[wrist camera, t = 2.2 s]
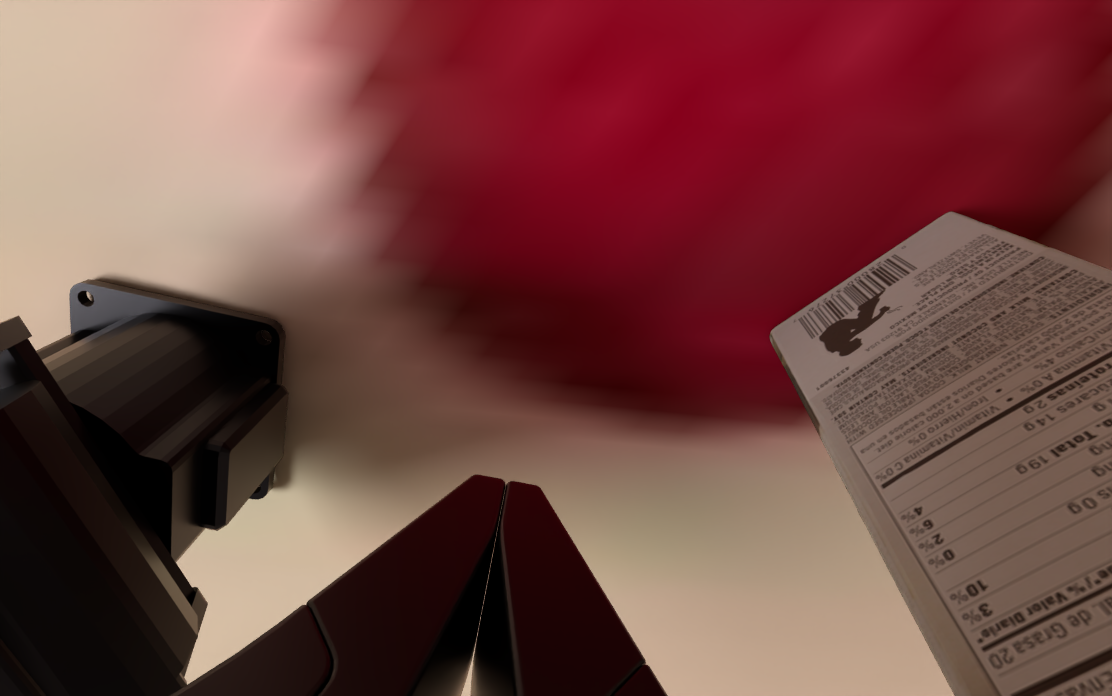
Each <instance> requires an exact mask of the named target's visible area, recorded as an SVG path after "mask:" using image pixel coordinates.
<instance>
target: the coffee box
mask: <svg viewBox="0 0 1112 696" xmlns="http://www.w3.org/2000/svg"><path fill="white" fill-rule="evenodd" d="M770 341H771V344H772V346H773V347H774V349H775V351H776V353H777V355H778V357H779V359H780V361H781V362H782V364H783V366H784V368H785V370H786V372H787V374H788V376H789V377H790V379H791V381H792V383H793V385H794V387H795V389H796V391H797V393H798V395H799V397H800V399H801V401H802V403H803V405H804V407H805V409H806V411H807V412H808V414H809V416H810V418H811V420H812V422H813V424H814V426H815V428H816V430H817V432H818V434H819V436H820V438H821V440H822V442H823V444H824V446H825V448H826V450H827V452H828V454H829V456H830V458H831V460H832V462H833V464H834V465H835V467H836V469H837V471H838V473H839V475H840V477H841V479H842V481H843V483H844V484H845V486H846V488H847V490H848V492H849V494H850V496H851V498H852V500H853V502H854V504H855V506H856V508H857V510H858V512H859V514H860V516H861V518H862V520H863V521H864V523H865V525H866V527H867V529H868V531H869V533H870V535H871V537H872V539H873V540H874V542H875V544H876V546H877V548H878V550H879V552H880V554H881V556H882V558H883V560H884V562H885V564H886V566H887V568H888V570H889V571H890V573H891V575H892V577H893V579H894V581H895V583H896V585H897V587H898V589H899V591H900V593H901V595H902V597H903V598H904V600H905V602H906V604H907V606H908V608H909V610H910V612H911V614H912V615H913V617H914V619H915V621H916V623H917V625H918V627H919V629H920V631H921V632H922V634H923V636H924V638H925V640H926V642H927V644H928V646H929V648H930V649H931V651H932V653H933V655H934V657H935V659H936V661H937V663H938V665H939V667H940V668H941V670H942V672H943V674H944V676H945V678H946V680H947V682H948V684H949V686H950V688H951V689H952V691H953V693H954V695H955V696H1112V270H1109V269H1107V268H1104V267H1101V266H1099V265H1096V264H1093V263H1091V262H1088V261H1085V260H1083V259H1080V258H1077V257H1075V256H1072V255H1069V254H1066V253H1064V252H1061V251H1059V250H1057V249H1054V248H1050V247H1047V246H1045V245H1043V244H1039V243H1037V242H1035V241H1032V240H1029V239H1026V238H1024V237H1020V236H1018V235H1015V234H1012V233H1009V232H1008V231H1005V230H1002V229H999V228H997V227H994V226H992V225H988V224H984V223H982V222H979V221H977V220H974V219H971V218H969V217H966V216H964V215H961V214H958V213H955V212H948V213H946V214H944V215H942V216H941V217H939V218H938V219H936V220H935V221H933V222H932V223H930V224H929V225H927V226H926V227H924V228H923V229H921V230H920V231H918V232H917V233H915V234H914V235H912V236H911V237H909V238H908V239H906V240H905V241H903V242H902V243H900V244H899V245H897V246H896V247H894V248H893V249H891V250H890V251H888V252H887V253H885V254H884V255H882V256H881V257H879V258H878V259H876V260H875V261H873V262H872V263H870V264H869V265H867V266H866V267H864V268H863V269H861V270H860V271H858V272H857V273H855V274H854V275H852V276H851V277H849V278H848V279H846V280H845V281H843V282H842V283H840V284H839V285H837V286H836V287H834V288H833V289H831V290H830V291H828V292H827V293H826V294H824V295H823V296H821V297H820V298H818V299H817V300H815V301H814V302H812V303H811V304H809V305H808V306H806V307H805V308H803V309H802V310H800V311H799V312H797V313H796V314H794V315H793V316H791V317H790V318H788V319H787V320H785V321H784V322H782V323H781V324H779V325H778V326H776V327H775V328H774V329H773V330H772V331H771V333H770Z"/></svg>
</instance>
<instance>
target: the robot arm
mask: <svg viewBox="0 0 1112 696" xmlns="http://www.w3.org/2000/svg"><path fill="white" fill-rule="evenodd" d="M86 292H89V293H91V295H92V296H93V298H94V302H92V301H90V300H89V298H88V297H87V294H86ZM70 320H71V334H70V335H68V336H66V337H64V338H62V339H60V340H58V341H56V342H54V343H52V344H49V345H47V346H45V347H43V348H41V349H39V350H37V351H36V350H35V349H34V347H33V346H32V344H31V343H30V341H29V340H28V338H29V337H31V336H32V335H31V333H30V332H29V330H28V329H27V327H26V326H25V324H24V323H23V321H22V320H21V318H20V317H19V316H17V317H14V318H11V319H9V320H6V321H4V322H1V323H0V696H461V694H462V691H463V688H464V685H465V681H466V678H467V675H468V671H469V668H470V665H471V661H472V657H473V652H474V648H475V653H474V660H473V670H472V681H471V696H667V694H666V692H665V691H664V689H663V688H662V686H661V684H660V683H659V681H658V679H657V678H656V676H655V675H654V673H653V671H652V670H651V668H650V667H649V666H648V665H646V661H645V659H644V657H643V655H642V654H641V652H640V651H639V649H638V647H637V646H636V644H635V642H634V641H633V639H632V637H631V636H630V634H629V632H628V631H627V629H626V628H625V626H624V624H623V623H622V621H621V619H620V618H619V616H618V614H617V613H616V611H615V610H614V608H613V606H612V605H611V603H610V601H609V600H608V598H607V596H606V595H605V593H604V591H603V590H602V588H601V587H600V585H599V583H598V582H597V580H596V578H595V577H594V575H593V573H592V572H591V570H590V569H589V567H588V565H587V564H586V562H585V560H584V559H583V557H582V555H581V554H580V552H579V551H578V549H577V547H576V546H575V544H574V542H573V541H572V539H571V537H570V536H569V534H568V532H567V531H566V529H565V528H564V526H563V524H562V523H561V521H560V519H559V518H558V516H557V514H556V513H555V511H554V510H553V508H552V506H551V505H550V503H549V501H548V500H547V498H546V496H545V495H544V493H543V491H542V490H541V488H540V487H538V486H536V485H532V484H526V483H521V482H515V481H511V482H508V483H507V485H506V488H505V482H504V481H503V480H502V479H499V478H493V477H488V476H483V475H473V476H471V477H470V478H469V479H467V480H466V481H465V482H463V483H462V484H461V485H460V486H458V487H457V488H456V489H454V490H453V491H452V492H450V493H449V494H448V495H446V496H445V497H444V498H442V499H441V500H440V501H439V502H437V503H436V504H435V505H433V506H432V507H431V508H429V509H428V510H427V511H425V512H424V513H423V514H422V515H420V516H419V517H418V518H416V519H415V520H414V521H412V522H411V523H410V524H408V525H407V526H406V527H404V528H403V529H402V530H401V531H399V532H398V533H397V534H395V535H394V536H393V537H391V538H390V539H389V540H387V541H386V542H385V543H384V544H382V545H381V546H380V547H378V548H377V549H376V550H374V551H373V552H372V553H370V554H369V555H368V556H366V557H365V558H364V559H363V560H361V561H360V562H359V563H357V564H356V565H355V566H353V567H352V568H351V569H349V570H348V571H347V572H345V573H344V574H343V575H342V576H340V577H339V578H338V579H336V580H335V581H334V582H332V583H331V584H330V585H328V586H327V587H326V588H325V589H323V590H322V591H321V592H319V593H318V594H317V595H315V596H314V597H313V598H311V599H310V600H309V601H308V602H307V604H306V605H302V606H300V607H299V608H298V609H297V610H295V611H294V612H293V613H291V614H290V615H289V616H287V617H286V618H285V619H283V620H282V621H281V622H279V623H278V624H277V625H275V626H274V627H273V628H271V629H270V630H268V631H267V632H266V633H264V634H263V635H261V636H260V637H259V638H257V639H256V640H254V641H253V642H252V643H250V644H249V645H247V646H246V647H245V648H243V649H242V650H240V651H239V652H238V653H236V654H235V655H233V656H232V657H230V658H228V659H227V660H225V661H224V662H222V663H221V664H219V665H218V666H216V667H214V668H213V669H211V670H210V671H208V672H207V673H205V674H203V675H202V676H200V677H199V678H197V679H196V680H194V681H193V682H191V683H189V684H188V685H187V682H186V680H185V678H184V676H185V673H186V670H187V667H188V664H189V661H190V658H191V655H192V652H193V648H194V645H195V642H196V640H197V637H198V633H199V630H200V627H201V624H202V621H203V617H204V614H205V611H206V608H207V605H208V603H207V601H206V600H205V598H204V597H203V595H202V594H201V592H200V591H199V589H198V588H197V587H193V588H192V587H191V585H190V584H189V582H188V581H187V579H186V578H185V576H184V575H183V573H182V572H181V570H180V569H179V567H178V565H177V564H176V562H177V561H178V559H179V558H180V557H181V556H182V555H183V554H184V553H185V551H186V550H187V549H188V548H189V547H190V546H191V544H192V543H193V542H194V541H195V540H196V539H197V537H198V536H199V535H200V534H201V533H202V532H203V530H204V529H205V528H207V529H211V530H216V531H218V530H219V529H221V528H223V527H224V526H226V525H227V524H228V523H229V522H230V521H231V519H232V518H233V517H234V516H235V515H236V513H237V512H238V511H239V510H240V508H241V507H242V506H243V505H244V504H245V502H246V501H247V500H248V499H249V498H250V499H261V498H263V497H264V496H266V495H267V493H268V492H269V491H270V490H271V488H272V486H273V480H274V468H275V466H276V465H277V463H278V462H279V461H280V460H281V458H282V457H283V450H284V438H285V427H286V415H287V404H288V392H287V390H286V389H285V387H284V386H283V385H281V382H282V370H283V358H284V346H285V331H284V329H283V327H282V326H281V325H280V324H279V323H278V322H277V321H275V320H272V319H269V318H265V317H260V316H256V315H251V314H247V313H242V312H238V311H233V310H229V309H224V308H220V307H215V306H211V305H206V304H202V303H197V302H192V301H188V300H183V299H179V298H174V297H170V296H165V295H161V294H156V293H152V292H147V291H143V290H138V289H134V288H129V287H125V286H120V285H116V284H111V283H106V282H102V281H97V280H86V281H83V282H81V283H78V284H76V285H74V286H73V287H72V288H71V290H70ZM262 330H265V331H267V332H269V333H270V334H271V336H272V341H268V340H266V339H264V337H263V336H262V333H261V331H262ZM259 485H260V486H261V487H258V486H259ZM504 491H505V494H504ZM503 496H504V499H503ZM502 502H503V504H502ZM501 507H502V509H501ZM500 512H501V515H500ZM499 518H500V520H499ZM498 523H499V525H498ZM497 528H498V530H497ZM496 533H497V536H496ZM495 539H496V541H495ZM494 544H495V546H494ZM493 549H494V551H493ZM492 554H493V557H492ZM491 560H492V562H491ZM490 565H491V567H490ZM489 570H490V572H489ZM488 575H489V578H488ZM487 581H488V583H487ZM486 586H487V588H486ZM485 591H486V593H485ZM484 596H485V599H484ZM483 602H484V604H483ZM482 607H483V609H482ZM481 612H482V614H481ZM480 617H481V620H480ZM479 623H480V625H479ZM478 628H479V630H478ZM477 633H478V636H477ZM476 638H477V641H476ZM475 643H476V647H475Z"/></svg>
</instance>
